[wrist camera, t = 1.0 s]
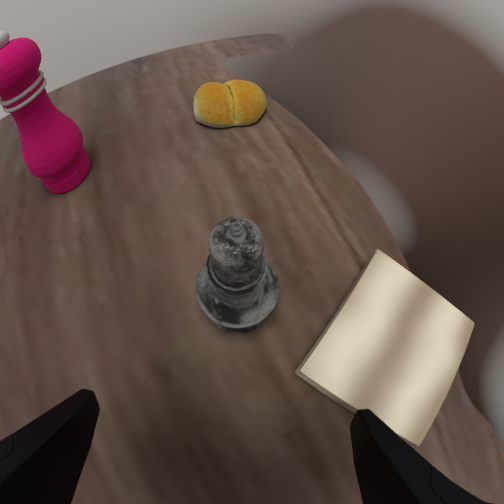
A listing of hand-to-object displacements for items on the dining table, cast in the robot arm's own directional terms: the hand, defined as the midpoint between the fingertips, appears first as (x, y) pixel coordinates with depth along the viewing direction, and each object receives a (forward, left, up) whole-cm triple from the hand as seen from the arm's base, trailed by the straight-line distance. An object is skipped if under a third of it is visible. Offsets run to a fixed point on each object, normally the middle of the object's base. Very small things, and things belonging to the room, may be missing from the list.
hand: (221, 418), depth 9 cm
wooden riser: (-8, -11, -14) cm, 19 cm away
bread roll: (+21, -25, -14) cm, 35 cm away
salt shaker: (+5, -7, -14) cm, 16 cm away
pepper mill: (+30, -6, -14) cm, 33 cm away
